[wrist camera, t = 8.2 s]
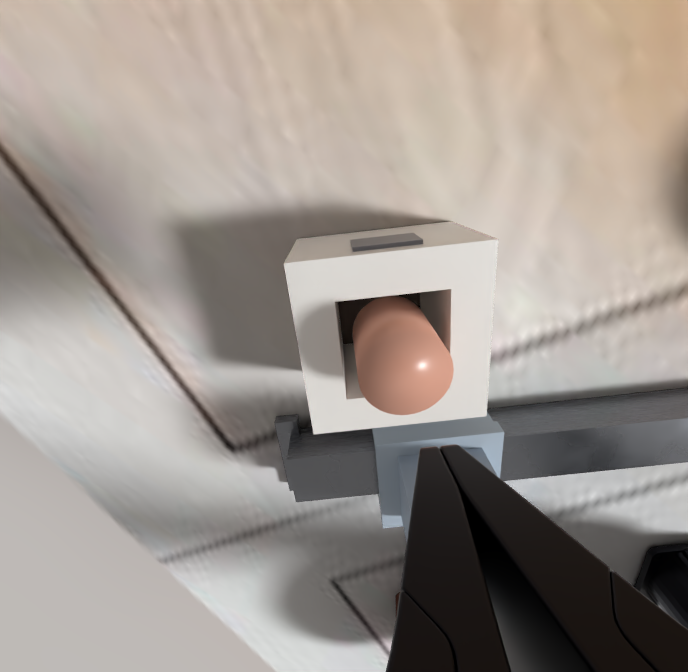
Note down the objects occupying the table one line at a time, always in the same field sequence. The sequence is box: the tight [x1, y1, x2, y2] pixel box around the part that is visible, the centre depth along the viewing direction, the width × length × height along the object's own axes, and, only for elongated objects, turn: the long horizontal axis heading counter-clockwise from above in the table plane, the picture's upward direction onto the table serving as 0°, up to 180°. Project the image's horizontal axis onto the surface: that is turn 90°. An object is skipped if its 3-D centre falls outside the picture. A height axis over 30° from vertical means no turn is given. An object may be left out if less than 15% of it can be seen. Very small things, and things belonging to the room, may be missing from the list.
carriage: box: [372, 412, 504, 542], centre depth 17 cm, size 6×6×9 cm
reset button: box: [352, 296, 454, 415], centre depth 13 cm, size 3×3×4 cm
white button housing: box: [284, 221, 498, 434], centre depth 15 cm, size 7×7×5 cm
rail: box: [275, 388, 688, 502], centre depth 20 cm, size 5×26×2 cm, turn 96°
